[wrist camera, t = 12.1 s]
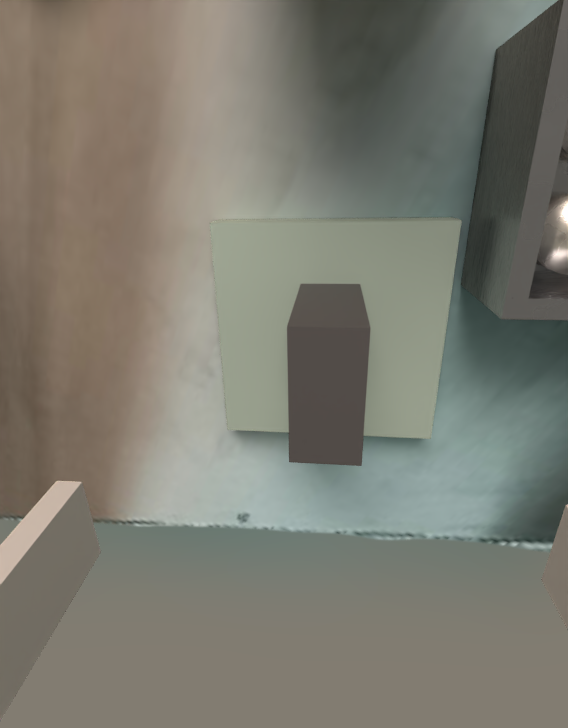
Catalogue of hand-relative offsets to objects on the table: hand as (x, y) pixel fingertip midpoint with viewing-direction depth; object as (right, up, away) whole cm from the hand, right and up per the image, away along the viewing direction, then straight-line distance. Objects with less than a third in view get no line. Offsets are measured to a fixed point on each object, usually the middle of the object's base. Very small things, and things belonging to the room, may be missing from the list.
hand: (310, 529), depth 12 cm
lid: (+2, +7, +16) cm, 18 cm away
